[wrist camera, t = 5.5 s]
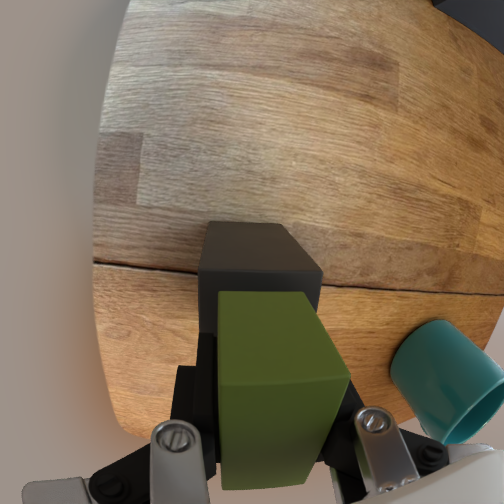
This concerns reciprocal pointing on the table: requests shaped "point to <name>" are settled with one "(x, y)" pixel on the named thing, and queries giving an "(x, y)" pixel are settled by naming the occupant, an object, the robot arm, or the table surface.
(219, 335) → the olive green block
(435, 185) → the table surface
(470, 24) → the cabinet
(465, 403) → the cup
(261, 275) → the dark gray block
